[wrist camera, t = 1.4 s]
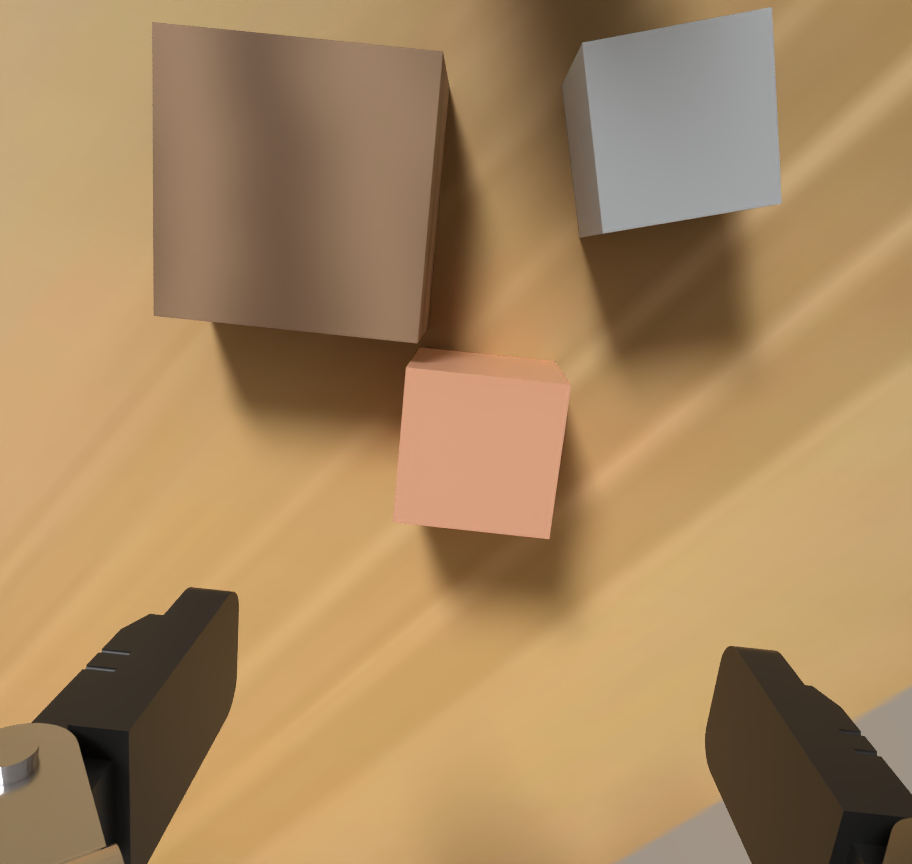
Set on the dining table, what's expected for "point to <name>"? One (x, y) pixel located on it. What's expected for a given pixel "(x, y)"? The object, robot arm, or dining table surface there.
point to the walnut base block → (296, 181)
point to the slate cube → (674, 123)
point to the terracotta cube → (480, 442)
